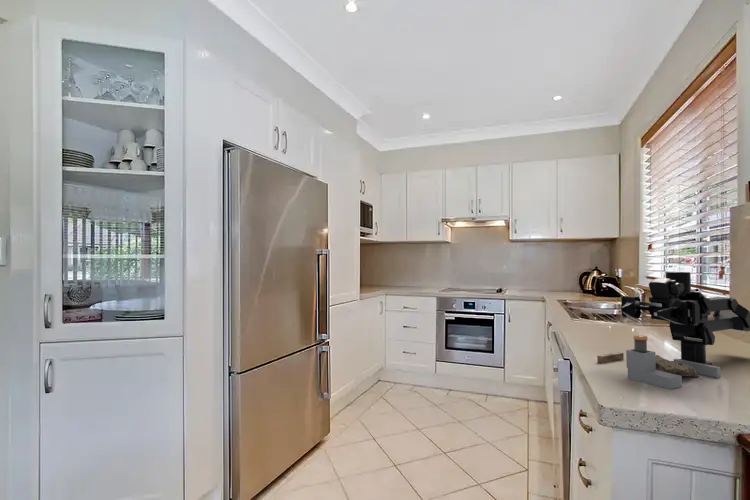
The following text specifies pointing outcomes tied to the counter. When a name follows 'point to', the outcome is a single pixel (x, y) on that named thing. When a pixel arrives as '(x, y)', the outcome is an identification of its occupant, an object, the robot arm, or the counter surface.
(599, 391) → the counter surface
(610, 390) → the counter surface
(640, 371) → the bay
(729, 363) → the counter surface
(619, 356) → the bar
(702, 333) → the robot arm
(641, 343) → the plunger
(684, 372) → the rock
